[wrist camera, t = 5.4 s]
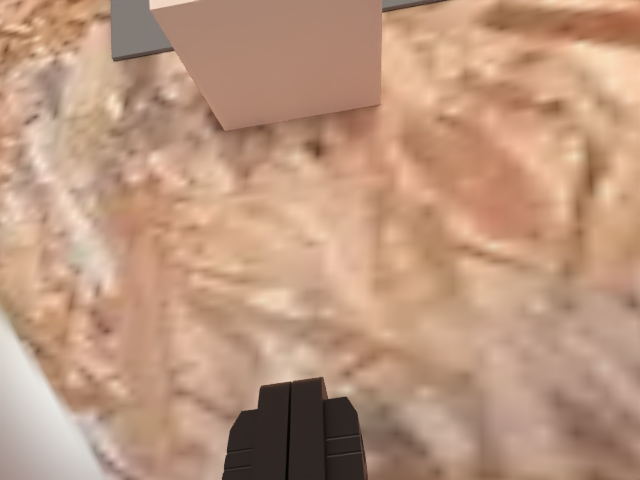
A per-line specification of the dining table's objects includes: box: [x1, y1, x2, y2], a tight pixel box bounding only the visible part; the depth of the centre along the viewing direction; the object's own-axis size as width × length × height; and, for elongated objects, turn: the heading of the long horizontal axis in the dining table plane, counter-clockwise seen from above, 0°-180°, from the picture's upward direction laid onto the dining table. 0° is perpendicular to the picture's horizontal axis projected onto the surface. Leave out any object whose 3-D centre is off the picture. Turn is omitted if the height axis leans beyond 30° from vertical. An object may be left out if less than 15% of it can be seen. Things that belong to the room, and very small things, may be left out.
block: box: [149, 0, 382, 131], centre depth 24 cm, size 3×9×10 cm, turn 97°
